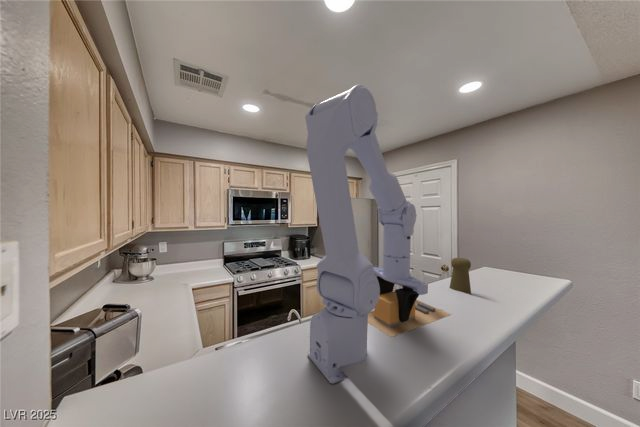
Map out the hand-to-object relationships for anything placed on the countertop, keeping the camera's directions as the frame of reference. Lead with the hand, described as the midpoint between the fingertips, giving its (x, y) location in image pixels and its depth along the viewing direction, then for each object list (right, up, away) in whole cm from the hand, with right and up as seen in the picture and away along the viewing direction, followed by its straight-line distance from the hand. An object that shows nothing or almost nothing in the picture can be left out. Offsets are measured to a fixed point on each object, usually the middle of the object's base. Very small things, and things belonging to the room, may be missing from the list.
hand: (394, 315), depth 52 cm
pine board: (+3, -2, +2) cm, 4 cm away
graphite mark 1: (+8, -1, +4) cm, 9 cm away
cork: (+27, -2, +20) cm, 34 cm away
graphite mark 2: (+10, -1, +6) cm, 11 cm away
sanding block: (0, -1, 0) cm, 1 cm away
